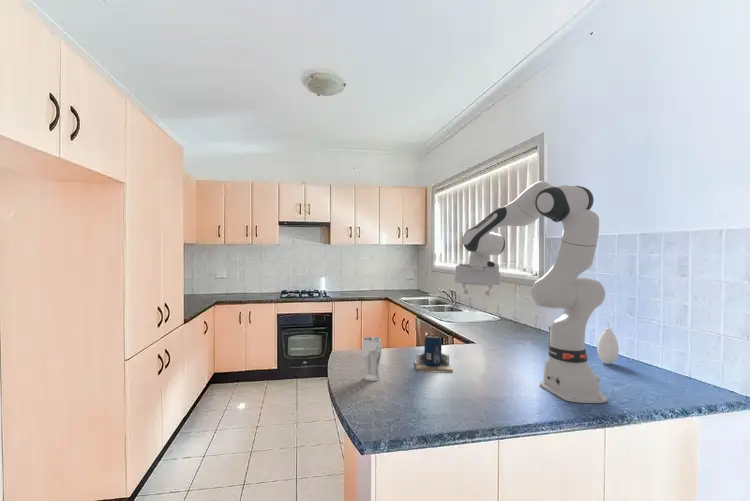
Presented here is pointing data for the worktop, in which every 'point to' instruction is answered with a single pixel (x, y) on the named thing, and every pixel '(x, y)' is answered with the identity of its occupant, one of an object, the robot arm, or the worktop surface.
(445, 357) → the napkin holder
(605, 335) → the white tall egg shape
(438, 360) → the soda can
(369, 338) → the beer glass
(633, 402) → the worktop surface
